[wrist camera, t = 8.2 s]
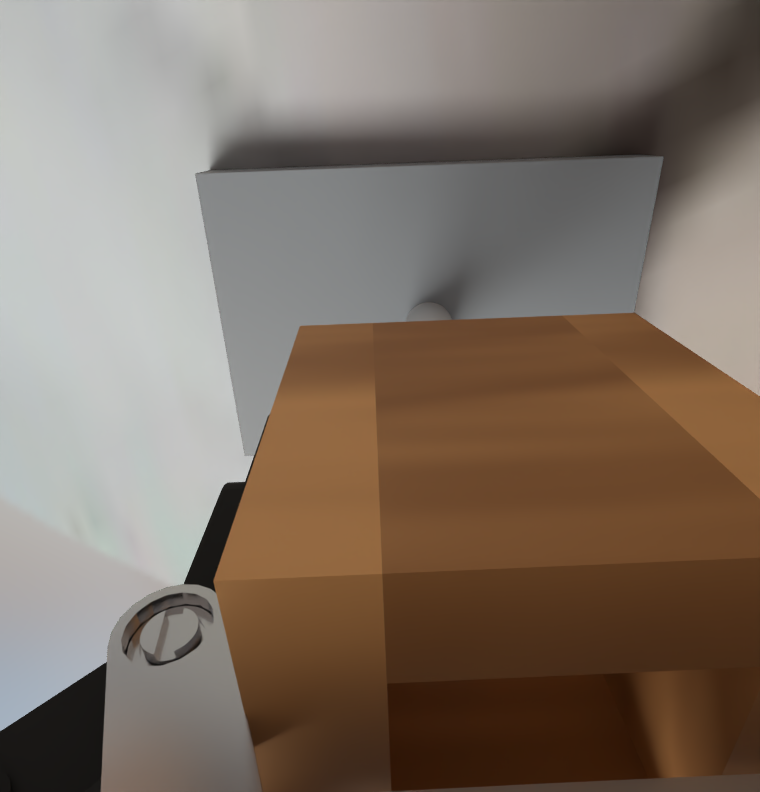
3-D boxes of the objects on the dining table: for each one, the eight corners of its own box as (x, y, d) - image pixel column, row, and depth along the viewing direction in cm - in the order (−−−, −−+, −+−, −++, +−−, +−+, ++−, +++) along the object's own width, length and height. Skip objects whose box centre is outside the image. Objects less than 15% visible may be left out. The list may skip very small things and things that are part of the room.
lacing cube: (299, 325, 9) (213, 580, 4) (634, 312, 9) (987, 547, 4) (325, 575, 12) (294, 926, 7) (586, 563, 12) (762, 906, 7)
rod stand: (208, 170, 17) (33, 213, 8) (640, 154, 17) (938, 180, 8) (252, 435, 22) (170, 651, 13) (594, 422, 22) (753, 628, 13)
